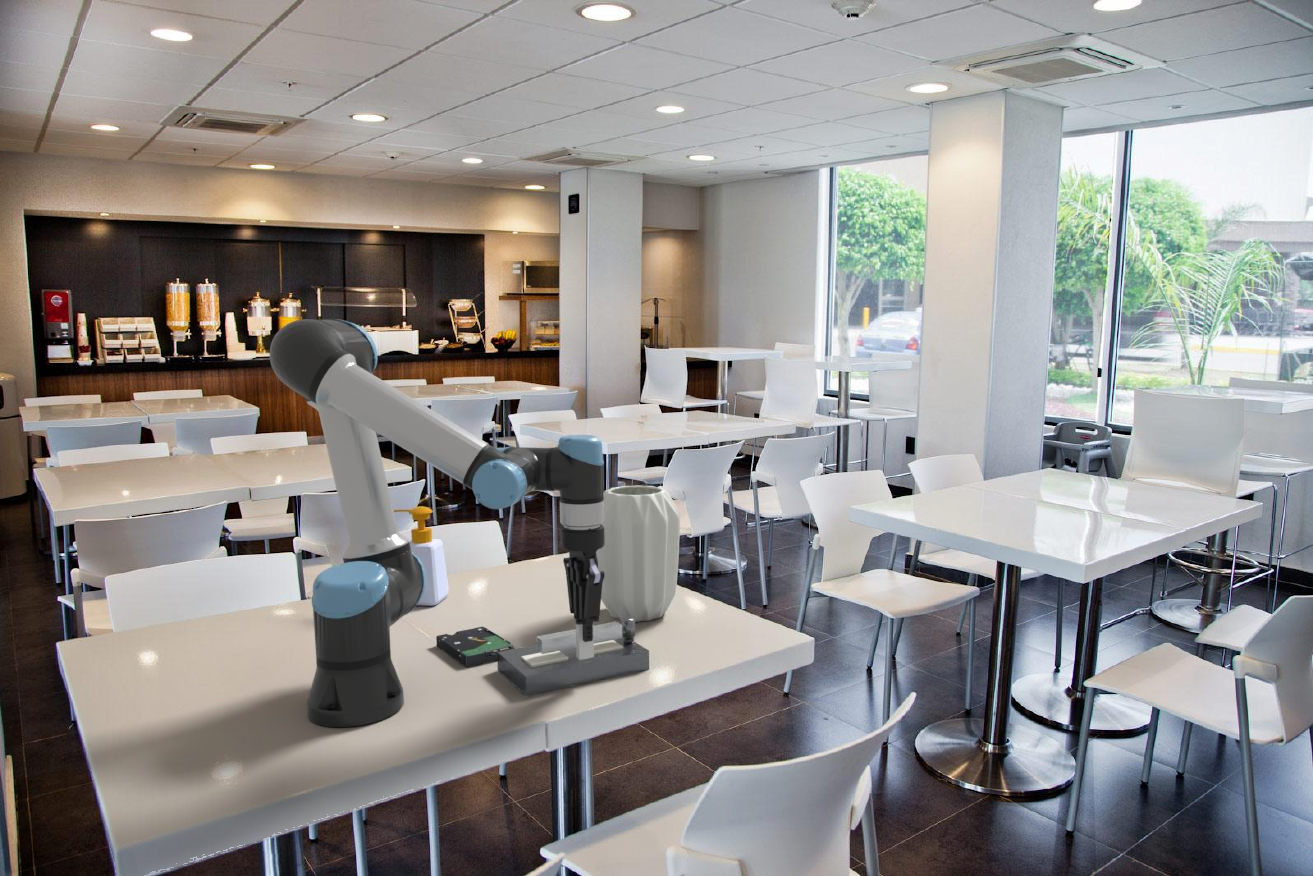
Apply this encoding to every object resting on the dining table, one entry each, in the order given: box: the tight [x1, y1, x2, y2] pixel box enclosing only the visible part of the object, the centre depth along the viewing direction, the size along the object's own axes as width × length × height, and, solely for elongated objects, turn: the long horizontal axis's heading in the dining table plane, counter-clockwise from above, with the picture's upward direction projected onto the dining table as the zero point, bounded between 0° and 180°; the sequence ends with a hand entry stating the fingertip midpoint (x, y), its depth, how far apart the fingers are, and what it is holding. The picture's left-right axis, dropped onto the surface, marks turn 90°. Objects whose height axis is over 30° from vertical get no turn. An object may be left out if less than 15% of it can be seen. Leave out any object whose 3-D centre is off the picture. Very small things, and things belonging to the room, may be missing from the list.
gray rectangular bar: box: [535, 617, 636, 654], centre depth 166 cm, size 19×2×3 cm, turn 120°
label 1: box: [521, 651, 569, 667], centre depth 162 cm, size 7×5×1 cm
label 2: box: [594, 640, 623, 654], centre depth 168 cm, size 7×5×1 cm
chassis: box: [497, 637, 650, 697], centre depth 166 cm, size 24×14×4 cm, turn 120°
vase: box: [596, 485, 681, 623], centre depth 198 cm, size 20×20×27 cm
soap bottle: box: [393, 505, 450, 607], centre depth 210 cm, size 10×14×22 cm
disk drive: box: [435, 626, 515, 669], centre depth 177 cm, size 10×3×15 cm
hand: (585, 657), depth 159 cm, fingers closed
